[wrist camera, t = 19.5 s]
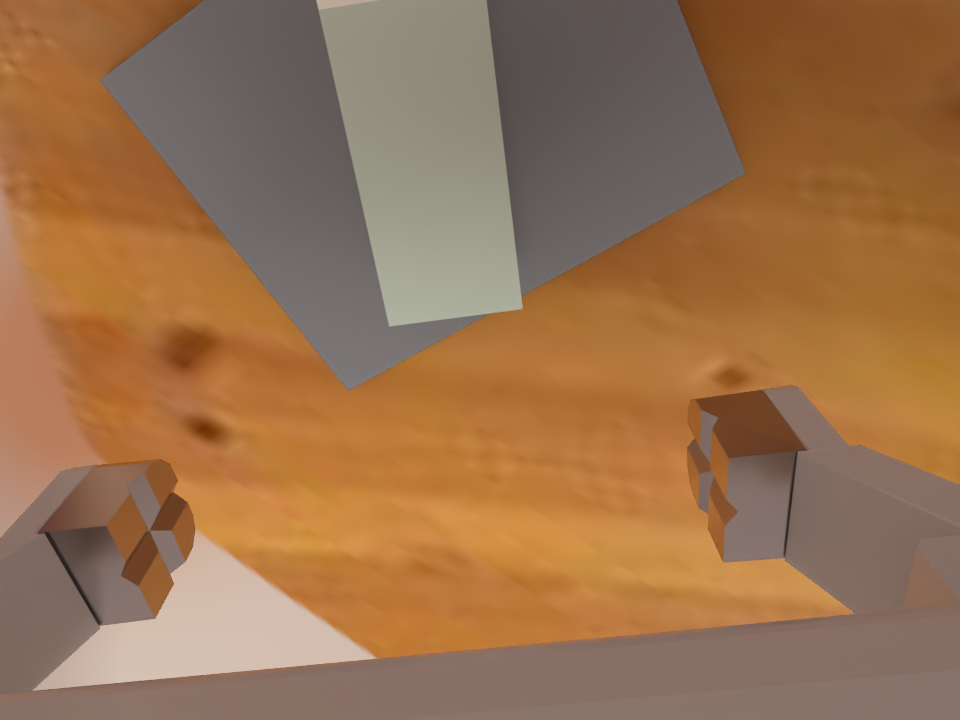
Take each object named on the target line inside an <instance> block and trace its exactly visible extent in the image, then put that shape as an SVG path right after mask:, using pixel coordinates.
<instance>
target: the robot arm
mask: <svg viewBox="0 0 960 720" xmlns="http://www.w3.org/2000/svg"><path fill="white" fill-rule="evenodd" d="M688 425H689V427H690V429H691V431H692V433H693V435H694V437H695V438H694V440H693V441H692V442H691V444H690V445H689V446H688V447H687V466H688V473H689V480H690V485H691V489H692V492H693V495H694V498H695V500H696V503H697V505H698V508H699V509H701V510H703V511H704V512H706V513H708V530H709V532H710V535H711V537H712V539H713V541H714V543H715V545H716V548H717V550H718V552H719V554H720V556H721V559H722V561H723V562H737V561H751V560H765V559H778V558H785V561H786V562H787V563H789V564H790V565H791V566H793V567H794V568H795V569H797V570H798V571H799V572H801V573H802V574H803V575H805V576H806V577H808V578H809V579H810V580H812V581H813V582H814V583H816V584H817V585H818V586H820V587H821V588H822V589H824V590H825V591H826V592H828V593H829V594H830V595H832V596H833V597H834V598H836V599H837V600H838V601H840V602H841V603H842V604H844V605H845V606H846V607H848V608H849V609H850V610H852V611H853V612H854V613H856V614H851V615H840V616H829V617H818V618H808V619H797V620H787V621H777V622H767V623H757V624H746V625H735V626H725V627H714V628H703V629H692V630H681V631H670V632H660V633H649V634H638V635H627V636H616V637H606V638H595V639H584V640H573V641H562V642H551V643H541V644H530V645H519V646H508V647H497V648H486V649H476V650H465V651H454V652H443V653H433V654H422V655H412V656H401V657H391V658H380V659H370V660H360V661H349V662H338V663H328V664H317V665H307V666H296V667H286V668H275V669H265V670H253V671H243V672H232V673H221V674H211V675H199V676H189V677H179V678H167V679H156V680H146V681H135V682H124V683H114V684H102V685H92V686H81V687H70V688H59V689H48V690H38V691H32V690H33V689H35V688H36V687H37V686H38V685H39V684H40V683H41V682H42V681H43V680H44V679H45V678H47V677H48V676H49V675H50V674H51V673H52V672H53V671H54V670H55V669H56V668H57V667H59V666H60V665H61V664H62V663H63V662H64V661H65V660H66V659H67V658H68V657H69V656H71V655H72V654H73V653H74V652H75V651H76V650H77V649H78V648H79V647H80V646H82V645H83V644H84V643H85V642H86V641H87V640H88V639H89V638H90V637H91V636H92V635H94V634H95V633H96V632H97V631H98V630H99V629H100V627H99V626H101V625H109V624H118V623H125V622H133V621H140V620H148V619H155V618H156V616H157V614H158V612H159V610H160V609H161V607H162V604H163V603H164V601H165V599H166V597H167V596H168V594H169V592H170V590H171V588H172V586H173V584H174V583H173V580H172V578H171V575H170V573H172V572H173V571H174V570H175V569H177V568H178V567H179V566H181V565H182V564H183V563H184V562H186V560H187V558H188V556H189V554H190V552H191V550H192V547H193V541H194V535H195V525H194V519H193V514H192V512H191V509H190V507H189V504H188V502H186V501H185V500H183V499H182V498H181V497H179V496H178V495H176V494H175V493H174V490H175V487H176V484H177V482H178V479H177V477H176V475H175V473H174V471H173V469H172V467H171V465H170V464H169V463H167V462H165V461H163V460H161V459H156V460H146V461H135V462H124V463H113V464H103V465H92V466H84V467H76V468H71V469H67V470H64V471H61V472H60V473H59V474H58V476H57V477H56V478H55V479H54V480H53V481H52V482H51V483H50V485H48V486H47V488H46V489H45V490H44V491H43V492H42V493H41V494H40V495H39V496H38V497H37V499H36V500H35V501H34V502H33V503H32V504H31V505H30V506H29V507H28V508H27V509H26V510H25V512H24V513H23V514H22V515H21V516H20V517H19V518H18V519H17V520H16V521H15V522H14V524H13V525H12V526H11V527H10V528H9V529H8V530H7V531H6V532H5V533H4V534H3V536H2V537H1V538H0V720H960V485H958V484H956V483H953V482H951V481H949V480H946V479H944V478H941V477H939V476H936V475H934V474H931V473H929V472H926V471H924V470H921V469H919V468H916V467H914V466H911V465H909V464H906V463H904V462H901V461H899V460H896V459H894V458H891V457H889V456H886V455H884V454H881V453H879V452H876V451H874V450H871V449H869V448H866V447H864V446H861V445H855V446H849V445H848V444H847V443H846V442H845V441H844V439H843V438H842V437H841V436H840V435H839V434H838V433H837V431H836V430H835V429H834V428H833V427H832V426H831V425H830V423H829V422H828V421H827V420H826V419H825V418H824V416H823V415H822V414H821V413H820V412H819V411H818V410H817V408H816V407H815V406H814V405H813V404H812V403H811V402H810V400H809V399H808V398H807V397H806V396H805V395H804V393H803V392H802V391H801V390H800V389H799V388H798V387H796V386H793V385H789V386H782V387H776V388H769V389H762V390H758V391H750V392H743V393H736V394H728V395H721V396H714V397H706V398H699V399H692V400H690V402H689V407H688Z"/></svg>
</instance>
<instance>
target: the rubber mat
mask: <svg viewBox="0 0 960 720" xmlns="http://www.w3.org/2000/svg"><path fill="white" fill-rule="evenodd" d="M487 8H488V17H489V25H490V34H491V42H492V51H493V59H494V68H495V76H496V85H497V93H498V102H499V110H500V119H501V127H502V136H503V145H504V153H505V162H506V170H507V179H508V187H509V196H510V204H511V213H512V221H513V230H514V238H515V247H516V255H517V264H518V272H519V281H520V289H521V296H523V295H525V294H526V293H528V292H530V291H532V290H534V289H536V288H537V287H539V286H541V285H543V284H545V283H546V282H548V281H550V280H552V279H554V278H556V277H557V276H559V275H561V274H563V273H565V272H567V271H568V270H570V269H572V268H574V267H576V266H578V265H579V264H581V263H583V262H585V261H587V260H589V259H590V258H592V257H594V256H596V255H598V254H600V253H601V252H603V251H605V250H607V249H609V248H610V247H612V246H614V245H616V244H618V243H620V242H621V241H623V240H625V239H627V238H629V237H631V236H632V235H634V234H636V233H638V232H640V231H642V230H643V229H645V228H647V227H649V226H651V225H653V224H654V223H656V222H658V221H660V220H662V219H663V218H665V217H667V216H669V215H671V214H673V213H674V212H676V211H678V210H680V209H682V208H684V207H685V206H687V205H689V204H691V203H693V202H695V201H696V200H698V199H700V198H702V197H704V196H706V195H707V194H709V193H711V192H713V191H715V190H717V189H718V188H720V187H722V186H724V185H726V184H727V183H729V182H731V181H733V180H735V179H737V178H738V177H740V176H742V175H744V174H746V172H745V170H744V167H743V165H742V162H741V160H740V157H739V155H738V152H737V150H736V147H735V145H734V142H733V140H732V137H731V135H730V132H729V130H728V127H727V124H726V122H725V119H724V117H723V114H722V112H721V109H720V107H719V104H718V102H717V99H716V97H715V94H714V92H713V89H712V87H711V84H710V82H709V79H708V77H707V74H706V72H705V69H704V67H703V64H702V62H701V59H700V57H699V54H698V52H697V49H696V47H695V44H694V41H693V39H692V36H691V34H690V31H689V29H688V26H687V24H686V21H685V19H684V16H683V14H682V11H681V9H680V6H679V4H678V1H677V0H487ZM100 81H101V83H102V84H103V85H104V86H105V88H106V89H107V90H108V91H109V93H110V94H111V95H112V96H113V98H114V99H115V100H116V101H117V103H118V104H119V105H120V106H121V108H122V109H123V110H124V111H125V113H126V114H127V115H128V116H129V118H130V119H131V120H132V121H133V123H134V124H135V125H136V126H137V128H138V129H139V130H140V131H141V133H142V134H143V135H144V136H145V138H146V139H147V140H148V141H149V143H150V144H151V145H152V146H153V148H154V149H155V150H156V151H157V153H158V154H159V155H160V156H161V158H162V159H163V160H164V161H165V163H166V164H167V165H168V166H169V168H170V169H171V170H172V171H173V173H174V174H175V175H176V176H177V178H178V179H179V180H180V181H181V183H182V184H183V185H184V186H185V188H186V189H187V190H188V191H189V193H190V194H191V195H192V196H193V198H194V199H195V200H196V201H197V203H198V204H199V205H200V206H201V208H202V209H203V210H204V211H205V213H206V214H207V215H208V216H209V218H210V219H211V220H212V221H213V223H214V224H215V225H216V226H217V228H218V229H219V230H220V231H221V233H222V234H223V235H224V236H225V238H226V239H227V240H228V241H229V243H230V244H231V245H232V246H233V248H234V249H235V250H236V251H237V253H238V254H239V255H240V256H241V258H242V259H243V260H244V261H245V263H246V264H247V265H248V266H249V268H250V269H251V270H252V271H253V273H254V274H255V275H256V276H257V278H258V279H259V280H260V281H261V283H262V284H263V285H264V286H265V288H266V289H267V290H268V291H269V293H270V294H271V295H272V296H273V298H274V299H275V300H276V301H277V303H278V304H279V305H280V306H281V308H282V309H283V310H284V311H285V313H286V314H287V315H288V316H289V318H290V319H291V320H292V321H293V323H294V324H295V325H296V326H297V328H298V329H299V330H300V331H301V333H302V334H303V335H304V336H305V338H306V339H307V340H308V341H309V343H310V344H311V345H312V346H313V348H314V349H315V350H316V351H317V353H318V354H319V355H320V356H321V358H322V359H323V360H324V361H325V363H326V364H327V365H328V366H329V368H330V369H331V370H332V371H333V373H334V374H335V375H336V376H337V378H338V379H339V380H340V381H341V383H342V384H343V385H344V386H345V388H346V389H347V390H348V391H349V390H351V389H353V388H354V387H356V386H358V385H360V384H362V383H364V382H365V381H367V380H369V379H371V378H373V377H375V376H376V375H378V374H380V373H382V372H384V371H386V370H387V369H389V368H391V367H393V366H395V365H397V364H398V363H400V362H402V361H404V360H406V359H408V358H409V357H411V356H413V355H415V354H417V353H418V352H420V351H422V350H424V349H426V348H428V347H429V346H431V345H433V344H435V343H437V342H439V341H440V340H442V339H444V338H446V337H448V336H450V335H451V334H453V333H455V332H457V331H459V330H461V329H462V328H464V327H466V326H468V325H470V324H472V323H473V322H475V321H477V320H479V319H481V318H482V317H484V316H486V315H488V314H482V315H474V316H466V317H459V318H451V319H443V320H436V321H428V322H420V323H413V324H405V325H397V326H390V327H389V323H388V319H387V315H386V310H385V306H384V301H383V297H382V292H381V288H380V283H379V279H378V274H377V270H376V265H375V261H374V256H373V252H372V247H371V243H370V238H369V234H368V229H367V225H366V221H365V216H364V212H363V207H362V203H361V198H360V194H359V189H358V185H357V180H356V176H355V171H354V167H353V162H352V158H351V153H350V149H349V144H348V140H347V135H346V131H345V127H344V122H343V118H342V113H341V109H340V104H339V100H338V95H337V91H336V86H335V82H334V77H333V73H332V68H331V64H330V59H329V55H328V50H327V46H326V41H325V37H324V33H323V28H322V24H321V19H320V15H319V10H318V6H317V1H316V0H204V1H203V2H201V3H200V4H199V5H198V6H196V7H195V8H194V9H192V10H191V11H190V12H188V13H187V14H186V15H184V16H183V17H182V18H180V19H179V20H178V21H177V22H175V23H174V24H173V25H171V26H170V27H169V28H167V29H166V30H165V31H163V32H162V33H161V34H159V35H158V36H157V37H156V38H154V39H153V40H152V41H150V42H149V43H148V44H146V45H145V46H144V47H142V48H141V49H140V50H139V51H137V52H136V53H135V54H133V55H132V56H131V57H129V58H128V59H127V60H125V61H124V62H123V63H121V64H120V65H119V66H118V67H116V68H115V69H114V70H112V71H111V72H110V73H108V74H107V75H106V76H104V77H103V78H102V79H100ZM489 314H490V313H489Z"/></svg>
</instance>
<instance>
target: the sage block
mask: <svg viewBox="0 0 960 720" xmlns="http://www.w3.org/2000/svg"><path fill="white" fill-rule="evenodd" d="M316 1H317V6H318V10H319V15H320V19H321V24H322V28H323V33H324V37H325V41H326V46H327V50H328V55H329V59H330V64H331V68H332V73H333V77H334V82H335V86H336V91H337V95H338V100H339V104H340V109H341V113H342V118H343V122H344V127H345V131H346V135H347V140H348V144H349V149H350V153H351V158H352V162H353V167H354V171H355V176H356V180H357V185H358V189H359V194H360V198H361V203H362V207H363V212H364V216H365V221H366V225H367V229H368V234H369V238H370V243H371V247H372V252H373V256H374V261H375V265H376V270H377V274H378V279H379V283H380V288H381V292H382V297H383V301H384V306H385V310H386V315H387V319H388V323H389V327H390V326H397V325H405V324H413V323H420V322H428V321H436V320H443V319H451V318H459V317H466V316H474V315H482V314H489V313H497V312H505V311H512V310H520V309H523V306H522V298H521V289H520V281H519V272H518V264H517V255H516V247H515V238H514V230H513V221H512V213H511V204H510V196H509V187H508V179H507V170H506V162H505V153H504V145H503V136H502V127H501V119H500V110H499V102H498V93H497V85H496V76H495V68H494V59H493V51H492V42H491V34H490V25H489V17H488V8H487V0H316Z"/></svg>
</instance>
